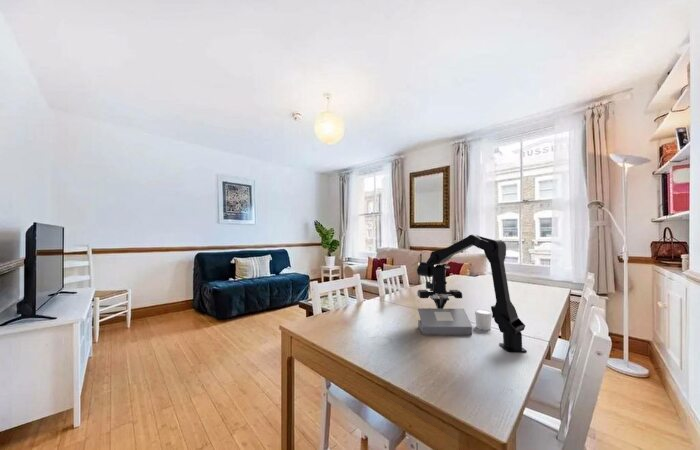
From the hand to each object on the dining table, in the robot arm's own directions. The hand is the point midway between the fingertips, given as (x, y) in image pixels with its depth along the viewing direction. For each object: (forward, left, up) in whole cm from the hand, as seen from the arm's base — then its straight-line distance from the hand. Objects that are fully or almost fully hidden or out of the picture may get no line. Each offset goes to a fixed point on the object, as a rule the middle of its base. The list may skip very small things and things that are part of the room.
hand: (439, 313), depth 121 cm
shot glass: (-1, -19, -6) cm, 20 cm away
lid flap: (-6, 0, 0) cm, 6 cm away
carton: (-6, 0, -6) cm, 8 cm away
